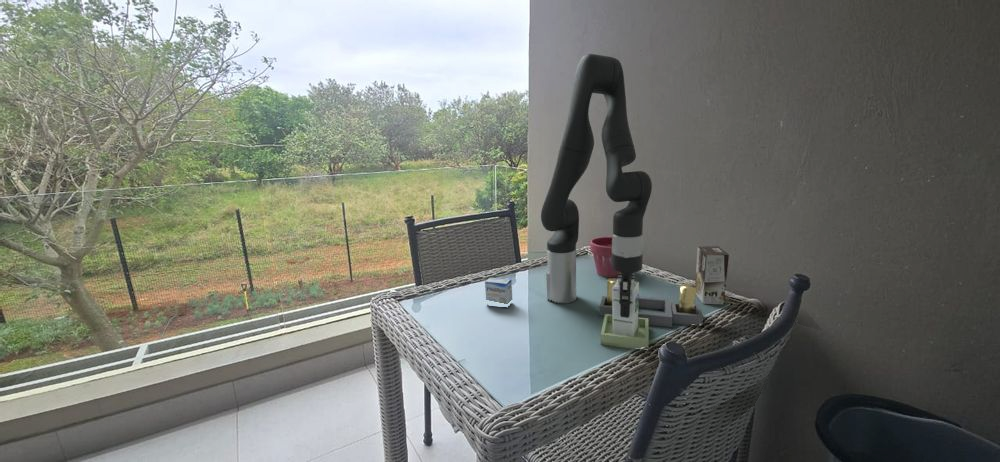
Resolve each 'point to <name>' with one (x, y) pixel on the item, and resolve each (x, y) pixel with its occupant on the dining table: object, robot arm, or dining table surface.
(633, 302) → the syrup box
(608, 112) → the robot arm
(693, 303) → the right brass peg
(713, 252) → the coffee box
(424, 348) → the dining table surface
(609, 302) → the left brass peg
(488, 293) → the medicine box
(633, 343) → the tray
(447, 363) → the dining table surface
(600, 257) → the plant pot
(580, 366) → the dining table surface
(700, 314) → the socket block
